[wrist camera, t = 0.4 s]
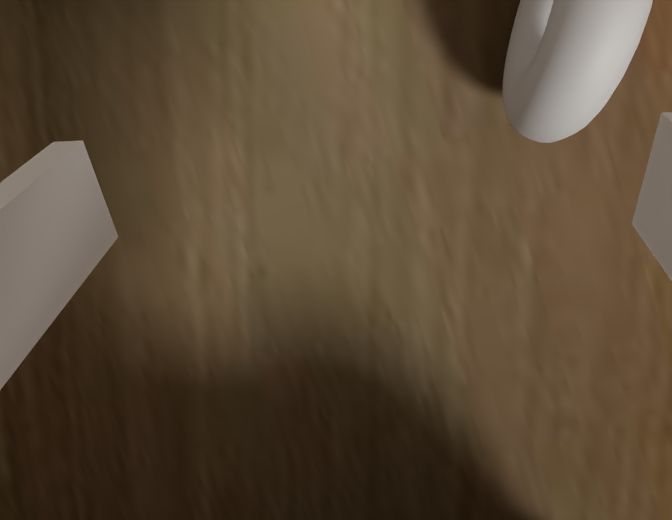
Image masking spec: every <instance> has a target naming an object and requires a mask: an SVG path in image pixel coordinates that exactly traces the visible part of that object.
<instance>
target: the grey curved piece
mask: <svg viewBox="0 0 672 520" xmlns="http://www.w3.org/2000/svg"><path fill="white" fill-rule="evenodd" d="M652 1H653V0H521V1H520V4H519V7H518V10H517V14H516V17H515V21H514V25H513V29H512V33H511V36H510V41H509V46H508V51H507V56H506V61H505V68H504V76H503V103H504V108H505V112H506V116H507V119H508V121H509V122H510V124H511V126H512V127H513V128H514V129H515V130H516V131H518V132H519V133H520V134H521V135H523V136H525V137H527V138H528V139H531V140H534V141H537V142H546V143H551V142H555V141H558V140H562V139H564V138H566V137H568V136H571V135H573V134H575V133H577V132H578V131H580V130H581V129H583V128H584V127H586V126H587V125H588V123H589V122H590V121H591V120H592V119H593V118H594V117H595V116H596V115H597V114H598V113H599V112H600V111H601V110H602V108H603V107H604V105H605V104H606V103H607V101H608V100H609V98H610V97H611V95H612V93H613V92H614V90H615V89H616V87H617V86H618V84H619V82H620V81H621V79H622V78H623V76H624V74H625V72H626V70H627V68H628V65H629V63H630V61H631V59H632V57H633V55H634V53H635V51H636V49H637V46H638V44H639V41H640V39H641V36H642V33H643V30H644V27H645V24H646V21H647V18H648V15H649V13H650V10H651V6H652Z"/></svg>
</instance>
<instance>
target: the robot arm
mask: <svg viewBox="0 0 672 520" xmlns="http://www.w3.org/2000/svg"><path fill="white" fill-rule="evenodd" d="M632 225H633V226H634V228H635V229H636V231H637V232H638V234H639V235H640V236H641V238H642V239H643V241H644V242H645V244H646V245H647V246H648V248H649V249H650V251H651V252H652V254H653V255H654V256H655V258H656V259H657V261H658V262H659V264H660V265H661V266H662V268H663V269H664V271H665V272H666V274H667V275H668V276H669V278H670V279H671V281H672V112H669V113H661V116H660V120H659V124H658V127H657V131H656V135H655V139H654V142H653V146H652V150H651V154H650V157H649V161H648V165H647V169H646V172H645V176H644V180H643V184H642V188H641V191H640V195H639V199H638V203H637V206H636V210H635V214H634V218H633V221H632ZM117 238H118V235H117V232H116V229H115V227H114V224H113V221H112V218H111V216H110V213H109V210H108V208H107V205H106V202H105V199H104V197H103V194H102V191H101V189H100V186H99V183H98V180H97V178H96V175H95V172H94V170H93V167H92V164H91V161H90V159H89V156H88V153H87V151H86V148H85V145H84V142H83V140H82V141H61V142H52V143H51V144H50V145H49V146H47V147H46V148H45V149H43V150H42V151H41V152H39V153H38V154H37V155H35V156H34V157H33V158H32V159H30V160H29V161H28V162H26V163H25V164H24V165H22V166H21V167H20V168H19V169H17V170H16V171H15V172H13V173H12V174H11V175H9V176H8V177H7V178H6V179H4V180H3V181H2V182H0V390H1V389H2V387H3V386H4V385H5V383H6V382H7V381H8V379H9V378H10V377H11V376H12V374H13V373H14V372H15V370H16V369H17V368H18V366H19V365H20V364H21V363H22V361H23V360H24V359H25V357H26V356H27V355H28V354H29V352H30V351H31V350H32V348H33V347H34V346H35V344H36V343H37V342H38V341H39V339H40V338H41V337H42V335H43V334H44V333H45V331H46V330H47V329H48V328H49V326H50V325H51V324H52V322H53V321H54V320H55V318H56V317H57V316H58V315H59V313H60V312H61V311H62V309H63V308H64V307H65V305H66V304H67V303H68V302H69V300H70V299H71V298H72V296H73V295H74V294H75V292H76V291H77V290H78V289H79V287H80V286H81V285H82V283H83V282H84V281H85V280H86V278H87V277H88V276H89V274H90V273H91V272H92V270H93V269H94V268H95V267H96V265H97V264H98V263H99V261H100V260H101V259H102V257H103V256H104V255H105V254H106V252H107V251H108V250H109V248H110V247H111V246H112V244H113V243H114V242H115V241H116V239H117Z"/></svg>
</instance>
